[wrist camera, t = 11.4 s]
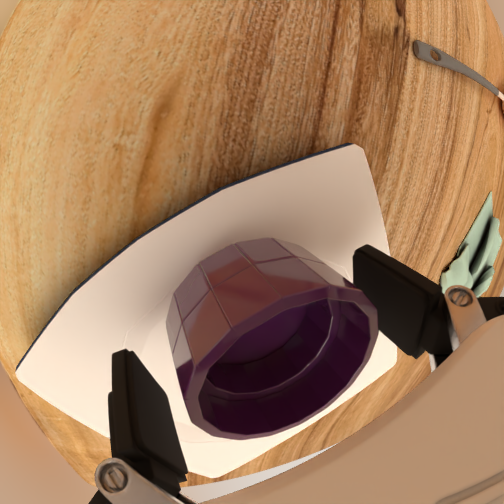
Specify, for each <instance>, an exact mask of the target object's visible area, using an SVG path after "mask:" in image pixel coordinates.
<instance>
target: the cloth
mask: <svg viewBox="0 0 504 504" xmlns="http://www.w3.org/2000/svg"><path fill="white" fill-rule="evenodd" d="M499 224H500V222H499V219H497V218H494V217H493V211H492V191H490V193H489V195H488V197H487V199H486V201H485V203H484V205H483V207H482V208H481V210H480V212H479V214H478V216H477V218H476V219H475V221H474V223H473V225H472V227H471V229H470V230H469V232H468V234H467V236H466V237H465V239H464V241H463V242H462V244H461V246H460V247H459V250H458V253H457V257H456V260H454V261H453V262H452V263H451V265H450V267H449V270H448V271H445V272H443V273H442V275H441V279H440V286H441V287H442V293H443V294H445V291H446V290H447V288H449V287H450V286H454V285H462V286H465V287H467V288H469V289H471V290H472V291H473V292H474V294H475V295H476V297H480V296H481V295H482V293H483V292H485V291H486V290H487V289H488V287H489V285H490V281H492V278H493V277H492V276H493V274H494V273H495V272H494V268H493V264H494V261H495V259H496V256H497V253H498V251H499V248H500V245H501V242H502V239H501V236H500V234H499V232H498V229H499Z"/></svg>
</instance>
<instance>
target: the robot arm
mask: <svg viewBox="0 0 504 504" xmlns="http://www.w3.org/2000/svg"><path fill="white" fill-rule="evenodd" d="M352 259H353V284H354V285H355V286H357V287H358V288H359V289H361V290H362V291H363V292H364V293H365V295H366V296H367V297H368V298H369V299H370V300H371V302H372V303H373V304H374V305H375V306H376V308H377V310H378V326H379V331H380V332H381V333H383V334H384V335H385V336H386V337H387V338H388V339H390V340H391V341H392V342H393V343H394V344H395V345H396V346H398V347H399V348H400V349H401V350H402V351H403V352H404V353H406V354H407V355H409V356H411V355H412V356H413V357H414V358H415V359H417V358H418V357H419V356H421V355H422V354H423V353H424V352H425V350H426V351H427V352H428V353H429V358H430V365H431V372H432V373H431V374H430V375H429V376H428V377H427V378H426V379H425V380H423V381H422V382H421V383H420V384H419V385H418V386H417V387H415V388H414V389H413V390H412V391H411V392H410V393H408V394H407V395H406V396H405V397H403V398H402V399H401V400H400V401H399V402H397V403H396V404H395V405H393V406H392V407H391V408H390V409H388V410H387V411H386V412H384V413H383V414H382V415H380V416H379V417H377V418H376V419H375V420H373V421H372V422H370V423H369V424H368V425H366V426H365V427H363V428H362V429H360V430H359V431H357V432H356V433H354V434H353V435H351V436H349V437H348V438H346V439H345V440H343V441H341V442H340V443H338V444H336V445H335V446H333V447H331V448H330V449H328V450H326V451H324V452H323V453H321V454H319V455H317V456H315V457H314V458H311V459H310V460H308V461H306V462H304V463H302V464H300V465H298V466H296V467H294V468H292V469H290V470H287V471H285V472H283V473H281V474H279V475H277V476H274V477H272V478H270V479H267V480H265V481H262V482H260V483H257V484H255V485H252V486H249V487H247V488H244V489H241V490H239V491H236V492H233V493H230V494H227V495H224V496H221V497H218V498H215V499H212V500H209V501H205V502H202V503H197V502H196V501H194V500H192V499H190V498H189V497H188V496H186V495H184V494H183V493H181V492H180V490H181V488H180V485H179V483H180V482H184V481H187V479H186V476H185V474H187V473H188V468H187V465H186V462H185V458H184V455H183V452H182V449H181V445H180V442H179V438H178V435H177V431H176V427H175V424H174V420H173V416H172V412H171V408H170V404H169V399H168V397H167V394H166V393H165V391H164V390H163V389H162V387H161V386H160V385H159V384H158V382H157V381H156V380H155V379H154V377H153V376H152V375H151V374H150V372H149V371H148V370H147V368H146V367H145V366H144V364H143V363H142V362H141V360H140V359H139V358H138V356H137V355H136V354H135V352H134V351H128V350H127V349H123V350H120V351H117V352H115V353H113V354H112V391H111V392H109V394H108V417H109V431H110V443H111V452H112V458H108V459H106V460H104V461H102V462H101V463H100V464H99V465H98V467H97V468H96V472H95V483H96V486H97V487H98V489H99V490H98V491H97V492H96V494H95V495H94V497H93V498H92V500H91V501H90V502H89V504H504V297H476V295H475V294H474V292H473V291H472V290H471V289H469V288H467V287H465V286H462V285H454V286H450V287H449V288H447V290H446V291H445V294H443V293H442V287H441V286H439V285H437V284H436V283H434V282H433V281H431V280H429V279H428V278H426V277H424V276H423V275H421V274H419V273H418V272H416V271H414V270H413V269H411V268H409V267H408V266H406V265H404V264H403V263H401V262H399V261H397V260H396V259H394V258H392V257H390V256H389V255H387V254H385V253H383V252H382V251H380V250H378V249H376V248H375V247H373V246H371V245H369V244H366V245H364V246H362V247H360V248H358V249H356V250H355V252H354V255H353V258H352Z"/></svg>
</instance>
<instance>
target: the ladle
mask: <svg viewBox="0 0 504 504" xmlns="http://www.w3.org/2000/svg"><path fill="white" fill-rule="evenodd" d="M430 50H433V51H434V52H435V53H436V54H437V56H438V61H436V60H434V59H433V58H432V57H431V55H430ZM414 53H415V55H416V56H417V58H420V59H422V60H425V61H428V62H430V63H433V64H435V65H438V66H441V67H444V68H447V69H450V70H453V71H456V72H459V73H462V74H464V75H466V76H467V77H469V78H471V79H473V80H474V81H476V82H478V83H479V84H481V85H482V86H484V87H485V88H487V89H488V90H490V91H491V92H492V93H494V94H495V95H496V96H498V97H499V98H500V99H501V100H502V109H503V113H504V95H503V94H502V93H501V92H500V91H499V90H498V89H497V88H496V87H495V86H494V85H492V84H491V83H490V82H489V81H488V80H486V79H485V78H484V77H482V76H481V75H480V74H478V73H477V72H475V71H474V70H472V69H471V68H469V67H467V66H466V65H464V64H463V63H461V62H459V61H458V60H456V59H455V58H453V57H451V56H450V55H448V54H446V53H444V52H443V51H441V50H439V49H437V48H435V47H433V46H431V45H428V44H426V43H424V42H421V41H419V40H416V41H415V42H414Z"/></svg>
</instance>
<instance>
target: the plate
mask: <svg viewBox="0 0 504 504" xmlns="http://www.w3.org/2000/svg"><path fill="white" fill-rule="evenodd" d="M268 237H269V238H276V239H280V240H283V241H287V242H290V243H294V244H297V245H300V246H302V247H303V248H304V249H306V250H307V251H309V252H310V253H311V254H313V255H314V256H316V257H317V258H318V259H320V260H321V261H323V262H324V263H325V264H327V265H328V266H329V267H331V268H332V269H334V270H335V271H336V272H338V273H339V274H340V275H342V276H343V277H344V278H346V279H347V280H349V281H350V282H351V283H353V259H352V258H353V255H354V252H355V250H356V249H358V248H360V247H362V246H364V245H366V244H369V245H371V246H373V247H375V248H376V249H378V250H380V251H382V252H383V253H385V254H387V255H389V256H390V251H389V246H388V240H387V235H386V231H385V226H384V222H383V217H382V213H381V209H380V205H379V201H378V197H377V193H376V190H375V186H374V182H373V179H372V175H371V172H370V169H369V165H368V162H367V159H366V156H365V153H364V150H363V148H361V147H359V146H357V145H356V144H353V143H346V144H342V145H339V146H336V147H332V148H329V149H326V150H323V151H320V152H317V153H314V154H310V155H307V156H304V157H301V158H299V159H296V160H293V161H290V162H287V163H284V164H281V165H278V166H276V167H273V168H270V169H267V170H265V171H262V172H259V173H256V174H254V175H251V176H249V177H246V178H243V179H241V180H238V181H236V182H233V183H230V184H228V185H225V186H223V187H220V188H218V189H217V190H215V191H213V192H211V193H209V194H208V195H206V196H204V197H202V198H201V199H199V200H197V201H196V202H194V203H192V204H190V205H189V206H187V207H185V208H184V209H182V210H180V211H179V212H177V213H175V214H174V215H172V216H170V217H169V218H167V219H165V220H164V221H162V222H161V223H159V224H157V225H156V226H154V227H153V228H151V229H149V230H148V231H146V232H145V233H143V234H142V235H140V236H139V237H137V238H136V239H135V240H133V241H132V242H131V243H129V244H128V245H127V246H126V247H124V248H123V249H122V250H121V251H119V252H118V253H117V254H116V255H114V256H113V257H112V258H111V259H109V260H108V261H107V262H106V263H105V264H103V265H102V266H101V267H100V268H99V269H97V270H96V271H95V272H94V273H93V274H91V275H90V276H89V277H88V278H87V279H86V280H84V281H83V282H82V283H81V284H80V285H79V286H78V287H76V288H75V289H74V290H73V292H72V293H71V294H70V295H69V296H68V298H67V299H66V300H65V301H64V302H63V304H62V305H61V306H60V307H59V309H58V310H57V311H56V312H55V314H54V315H53V316H52V318H51V319H50V320H49V321H48V323H47V324H46V325H45V327H44V328H43V329H42V331H41V332H40V333H39V335H38V336H37V338H36V339H35V340H34V342H33V343H32V345H31V346H30V347H29V349H28V350H27V352H26V353H25V355H24V356H23V358H22V359H21V361H20V362H19V364H18V365H17V367H16V375H17V378H18V380H19V381H20V382H22V383H23V384H24V385H25V386H27V387H28V388H29V389H31V390H32V391H33V392H35V393H36V394H37V395H39V396H40V397H42V398H43V399H44V400H46V401H47V402H49V403H50V404H52V405H53V406H55V407H56V408H58V409H59V410H61V411H62V412H64V413H66V414H67V415H69V416H70V417H72V418H74V419H75V420H77V421H79V422H81V423H82V424H84V425H86V426H88V427H89V428H91V429H93V430H95V431H96V432H98V433H100V434H102V435H104V436H106V437H108V438H110V431H109V417H108V394H109V392H111V391H112V354H113V353H115V352H117V351H120V350H123V349H127V350H128V351H134V352H135V354H136V355H137V356H138V358H139V359H140V360H141V362H142V363H143V364H144V366H145V367H146V368H147V370H148V371H149V372H150V374H151V375H152V376H153V377H154V379H155V380H156V381H157V382H158V384H159V385H160V386H161V387H162V389H163V390H164V391H165V393H166V394H167V397H168V399H169V404H170V408H171V412H172V416H173V420H174V424H175V427H176V431H177V435H178V438H179V442H180V445H181V449H182V452H183V455H184V458H185V462H186V465H187V468H188V471H190V472H193V473H197V474H200V475H203V476H207V477H210V478H217V477H220V476H222V475H224V474H226V473H228V472H230V471H232V470H234V469H236V468H238V467H240V466H241V465H243V464H245V463H247V462H249V461H251V460H252V459H254V458H256V457H258V456H259V455H261V454H263V453H264V452H266V451H268V450H269V449H271V448H273V447H274V446H276V445H278V444H280V443H281V442H283V441H285V440H287V439H288V438H290V437H292V436H293V435H295V434H296V433H298V432H300V431H301V430H303V429H304V428H306V427H307V426H309V425H311V424H312V423H314V422H315V421H317V420H318V419H320V418H322V417H323V416H325V415H326V414H328V413H329V412H330V411H332V410H333V409H335V408H336V407H338V406H339V405H341V404H342V403H344V402H345V401H347V400H348V399H350V398H351V397H352V396H354V395H355V394H357V393H358V392H360V391H361V390H363V389H364V388H365V387H367V386H368V385H369V384H371V383H372V382H373V381H375V380H376V379H377V378H379V377H380V376H381V375H383V374H384V373H385V372H387V371H388V370H389V369H390V368H392V367H393V366H394V365H395V363H396V361H397V346H396V345H395V344H394V343H393V342H392V341H391V340H390V339H388V338H387V337H386V336H385V335H384V334H383V333H381V332H380V331H379V333H378V334H379V335H378V338H377V341H376V344H375V346H374V349H373V352H372V355H371V357H370V359H369V361H368V363H367V364H366V366H365V367H364V369H363V370H362V372H361V373H360V375H359V376H358V377H357V379H356V380H355V382H354V383H353V384H352V385H351V387H350V388H348V389H347V390H346V391H345V392H344V393H343V394H342V395H341V396H340V397H339V398H338V399H337V400H336V401H335V402H334V403H332V404H331V405H330V406H329V407H328V408H326V409H325V410H323V411H322V412H320V413H319V414H317V415H315V416H314V417H312V418H311V419H309V420H307V421H306V422H304V423H302V424H300V425H298V426H296V427H293V428H291V429H288V430H286V431H283V432H280V433H278V434H275V435H272V436H268V437H262V438H255V439H248V440H232V439H225V438H218V437H213V436H211V435H209V434H208V433H206V432H205V431H203V430H201V429H200V428H198V427H197V426H195V425H194V424H192V422H191V421H190V418H189V415H188V412H187V409H186V406H185V403H184V400H183V397H182V393H181V389H180V386H179V382H178V378H177V374H176V370H175V366H174V362H173V357H172V353H171V349H170V344H169V339H168V335H167V330H166V318H167V314H168V311H169V307H170V303H171V300H172V296H173V293H174V292H175V290H176V289H177V288H178V286H179V285H180V284H181V283H182V282H183V280H184V279H185V278H186V277H187V275H188V274H189V273H190V272H191V271H192V269H193V268H194V267H195V266H196V265H197V264H199V262H200V261H202V260H203V259H205V258H207V257H209V256H210V255H212V254H214V253H216V252H217V251H219V250H221V249H223V248H224V247H226V246H228V245H230V244H232V243H236V242H241V241H248V240H254V239H261V238H268Z"/></svg>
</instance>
